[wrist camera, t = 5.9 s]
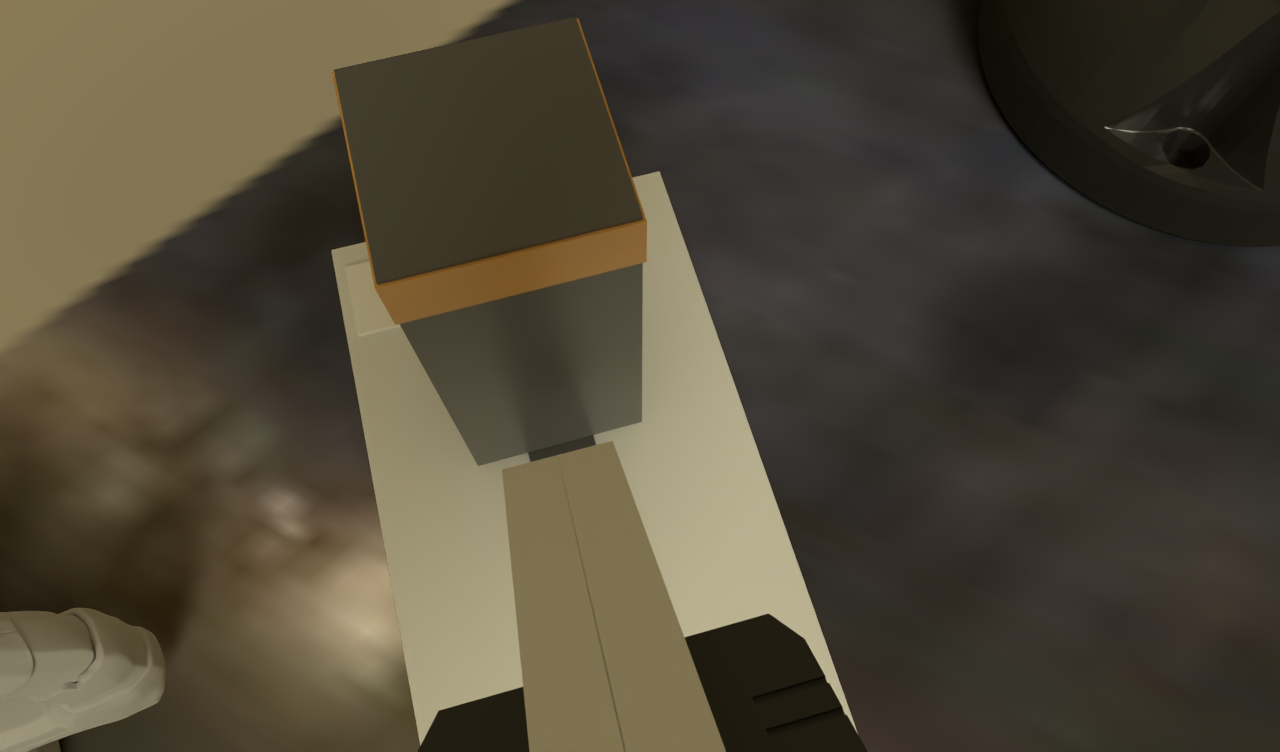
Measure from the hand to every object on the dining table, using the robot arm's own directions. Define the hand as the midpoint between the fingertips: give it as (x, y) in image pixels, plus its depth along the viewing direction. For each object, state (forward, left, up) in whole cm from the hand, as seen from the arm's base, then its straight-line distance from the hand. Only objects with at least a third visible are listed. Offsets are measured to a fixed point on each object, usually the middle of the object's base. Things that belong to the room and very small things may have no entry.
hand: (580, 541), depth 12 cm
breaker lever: (0, -6, -8) cm, 10 cm away
